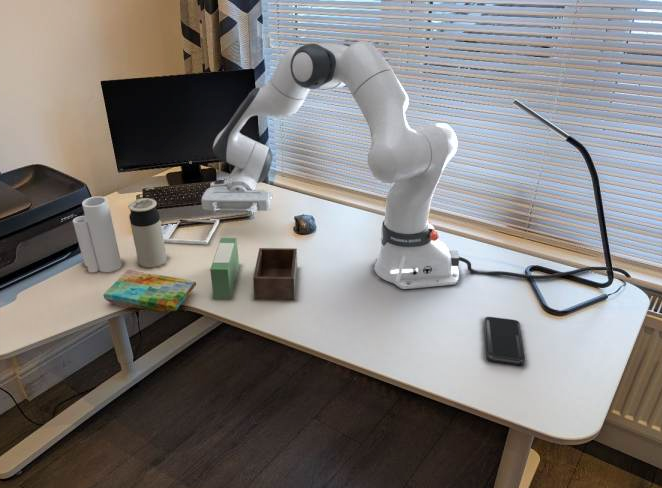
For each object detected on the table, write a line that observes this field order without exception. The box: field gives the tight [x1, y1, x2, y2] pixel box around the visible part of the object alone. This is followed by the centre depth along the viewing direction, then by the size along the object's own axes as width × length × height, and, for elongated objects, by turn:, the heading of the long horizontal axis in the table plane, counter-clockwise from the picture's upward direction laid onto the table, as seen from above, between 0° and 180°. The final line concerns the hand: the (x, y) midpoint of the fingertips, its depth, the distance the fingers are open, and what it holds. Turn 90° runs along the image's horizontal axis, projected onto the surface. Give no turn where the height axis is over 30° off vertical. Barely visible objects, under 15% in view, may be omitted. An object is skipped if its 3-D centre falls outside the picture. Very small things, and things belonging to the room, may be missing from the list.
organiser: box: [252, 247, 298, 301], centre depth 146 cm, size 10×15×7 cm
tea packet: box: [209, 237, 240, 300], centre depth 147 cm, size 4×16×9 cm, turn 176°
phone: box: [483, 316, 526, 366], centre depth 126 cm, size 8×1×15 cm
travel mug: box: [127, 197, 168, 268], centre depth 154 cm, size 8×8×18 cm
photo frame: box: [161, 218, 220, 246], centre depth 173 cm, size 15×1×18 cm
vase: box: [72, 195, 123, 274], centre depth 152 cm, size 11×7×20 cm, turn 82°
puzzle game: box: [102, 269, 197, 314], centre depth 142 cm, size 12×5×20 cm
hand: (232, 212), depth 158 cm, fingers open, 8 cm apart
